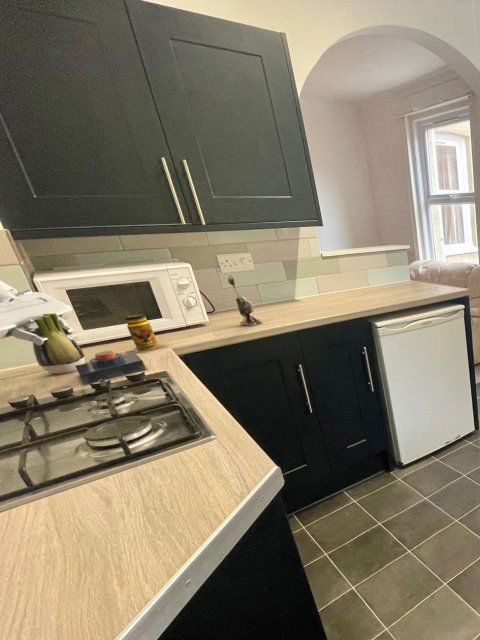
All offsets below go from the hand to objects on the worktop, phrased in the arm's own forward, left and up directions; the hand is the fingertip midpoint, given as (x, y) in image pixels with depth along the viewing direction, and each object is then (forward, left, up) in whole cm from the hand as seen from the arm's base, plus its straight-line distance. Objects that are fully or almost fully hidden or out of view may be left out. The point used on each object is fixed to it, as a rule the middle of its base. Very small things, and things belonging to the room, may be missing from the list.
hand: (57, 337), depth 98 cm
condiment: (+20, +49, -18) cm, 56 cm away
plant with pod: (+55, +51, -18) cm, 77 cm away
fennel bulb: (0, +1, -7) cm, 7 cm away
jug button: (+8, +27, -13) cm, 31 cm away
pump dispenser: (-1, +42, -18) cm, 46 cm away
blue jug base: (+8, +27, -18) cm, 34 cm away
